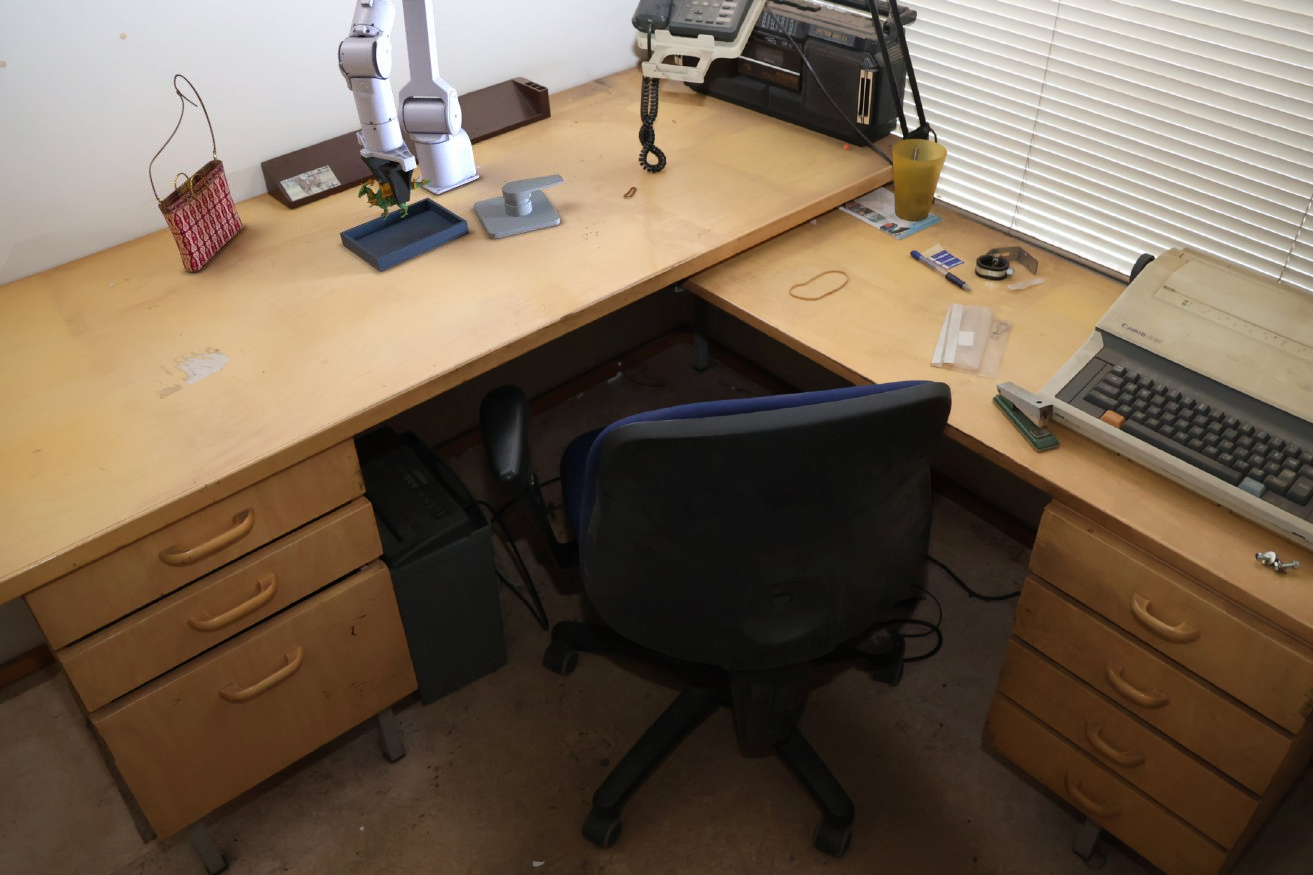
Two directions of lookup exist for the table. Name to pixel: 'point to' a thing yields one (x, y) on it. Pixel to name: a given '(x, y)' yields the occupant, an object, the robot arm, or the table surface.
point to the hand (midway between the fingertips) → (396, 197)
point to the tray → (404, 234)
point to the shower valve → (519, 208)
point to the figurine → (386, 196)
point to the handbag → (200, 208)
